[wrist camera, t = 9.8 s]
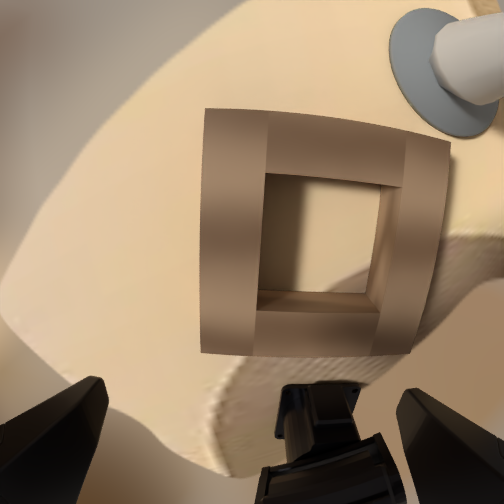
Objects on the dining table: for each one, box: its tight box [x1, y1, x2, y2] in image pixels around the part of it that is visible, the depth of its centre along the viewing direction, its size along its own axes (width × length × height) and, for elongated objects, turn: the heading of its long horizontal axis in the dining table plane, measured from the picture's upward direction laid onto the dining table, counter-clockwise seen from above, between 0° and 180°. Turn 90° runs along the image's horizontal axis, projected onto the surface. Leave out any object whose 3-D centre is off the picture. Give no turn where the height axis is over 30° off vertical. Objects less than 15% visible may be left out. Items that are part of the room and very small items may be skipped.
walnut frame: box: [200, 108, 451, 358], centre depth 18 cm, size 14×14×3 cm
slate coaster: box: [389, 8, 499, 136], centre depth 16 cm, size 10×10×1 cm
